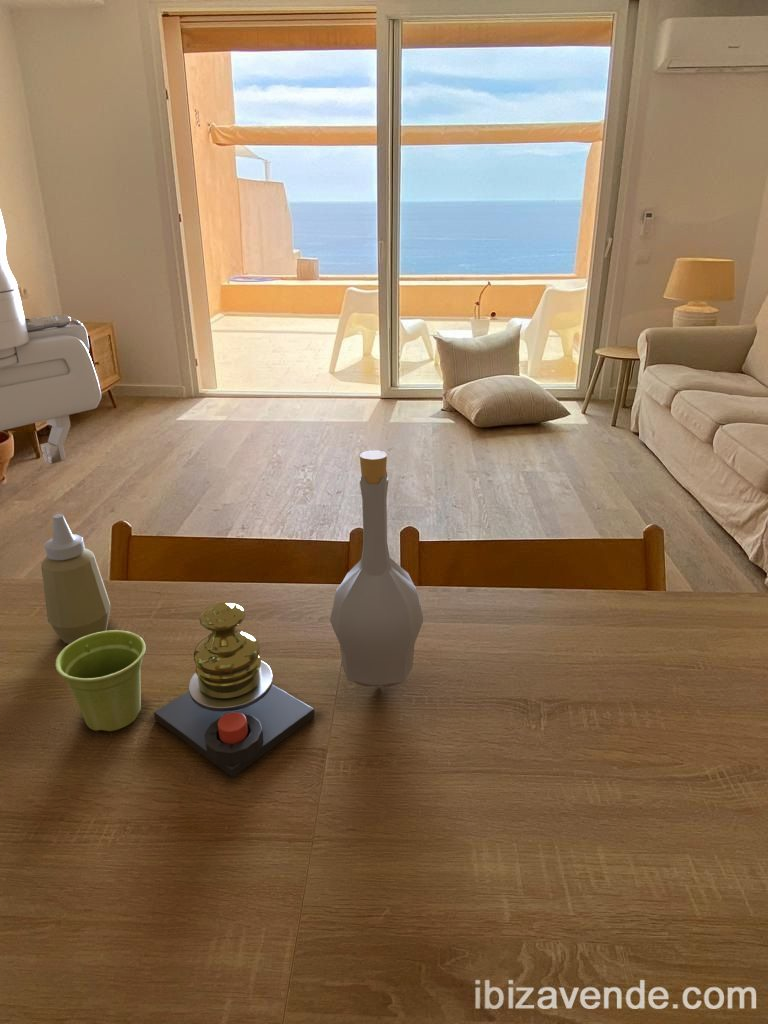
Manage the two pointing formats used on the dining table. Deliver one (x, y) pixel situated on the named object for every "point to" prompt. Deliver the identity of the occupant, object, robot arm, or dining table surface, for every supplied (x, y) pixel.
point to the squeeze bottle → (73, 585)
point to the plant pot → (105, 677)
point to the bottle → (376, 595)
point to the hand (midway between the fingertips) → (7, 474)
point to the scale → (264, 723)
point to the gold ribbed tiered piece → (226, 654)
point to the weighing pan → (235, 702)
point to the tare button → (232, 728)
